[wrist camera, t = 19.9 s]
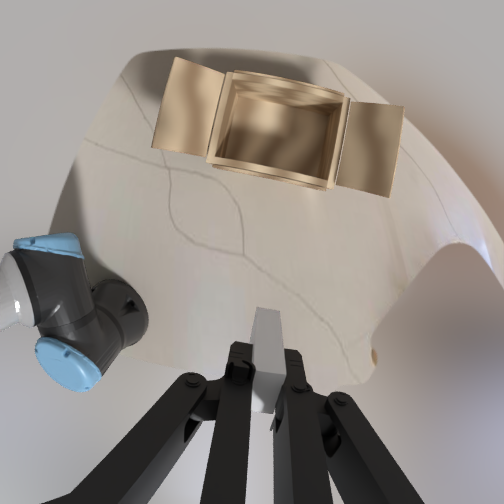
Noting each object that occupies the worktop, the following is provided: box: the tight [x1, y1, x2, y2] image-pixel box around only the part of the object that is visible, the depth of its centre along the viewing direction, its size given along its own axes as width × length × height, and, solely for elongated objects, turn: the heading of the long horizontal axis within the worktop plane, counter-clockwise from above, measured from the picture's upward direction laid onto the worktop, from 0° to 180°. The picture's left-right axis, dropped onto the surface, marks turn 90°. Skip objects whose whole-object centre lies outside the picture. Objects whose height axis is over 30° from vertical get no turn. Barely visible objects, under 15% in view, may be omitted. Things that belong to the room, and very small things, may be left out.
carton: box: [206, 70, 350, 191], centre depth 40 cm, size 18×15×10 cm
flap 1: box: [151, 57, 225, 157], centre depth 32 cm, size 8×13×1 cm
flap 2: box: [336, 102, 405, 198], centre depth 32 cm, size 8×13×1 cm
